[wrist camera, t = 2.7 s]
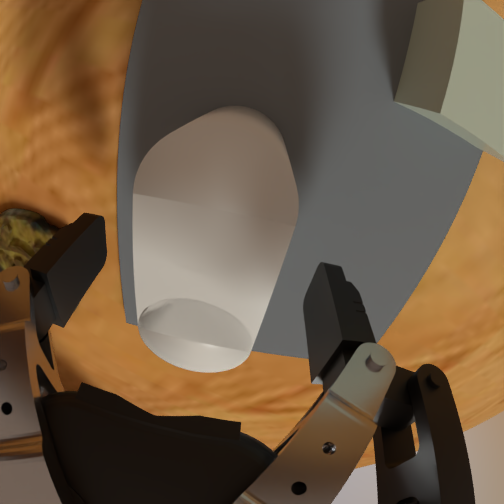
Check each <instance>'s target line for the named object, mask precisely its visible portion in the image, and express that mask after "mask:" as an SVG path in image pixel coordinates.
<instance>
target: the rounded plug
mask: <svg viewBox="0 0 504 504" xmlns="http://www.w3.org/2000/svg"><path fill="white" fill-rule="evenodd" d="M298 210H299V198H298V191H297V186H296V182H295V179H294V175H293V171H292V167H291V164H290V160H289V157H288V153H287V150H286V146H285V143H284V140H283V137H282V135H281V133H280V131H279V129H278V128H277V126H276V125H275V124H274V123H273V122H272V121H271V120H270V119H269V118H268V117H267V116H265V115H264V114H262V113H261V112H259V111H257V110H254V109H252V108H248V107H244V106H225V107H221V108H217V109H215V110H213V111H210V112H209V113H207V114H205V115H203V116H201V117H199V118H197V119H195V120H193V121H191V122H189V123H187V124H186V125H184V126H182V127H180V128H178V129H177V130H175V131H173V132H171V133H170V134H168V135H167V136H165V137H164V138H162V139H161V140H159V141H158V142H157V143H156V144H155V145H154V146H153V147H152V148H151V149H150V150H149V152H148V153H147V154H146V155H145V157H144V159H143V160H142V162H141V164H140V166H139V168H138V171H137V173H136V177H135V181H134V188H133V216H132V229H133V267H134V285H135V298H136V310H137V320H138V329H139V333H140V336H141V338H142V340H143V341H144V343H145V344H146V345H147V347H148V348H149V349H150V350H151V351H152V352H153V353H155V354H156V355H157V356H159V357H160V358H161V359H163V360H165V361H166V362H168V363H170V364H173V365H175V366H177V367H180V368H183V369H187V370H191V371H197V372H221V371H226V370H229V369H232V368H234V367H237V366H238V365H240V364H242V363H243V362H244V361H245V360H246V359H247V358H248V356H249V354H250V352H251V350H252V347H253V345H254V342H255V339H256V337H257V334H258V331H259V329H260V326H261V323H262V320H263V318H264V315H265V312H266V309H267V307H268V304H269V301H270V298H271V296H272V293H273V290H274V287H275V284H276V281H277V279H278V276H279V273H280V270H281V267H282V264H283V261H284V258H285V256H286V253H287V250H288V247H289V244H290V241H291V238H292V235H293V232H294V229H295V226H296V222H297V218H298Z"/></svg>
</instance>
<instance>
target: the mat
mask: <svg viewBox="0 0 504 504" xmlns="http://www.w3.org/2000/svg"><path fill="white" fill-rule="evenodd" d="M422 1H425V0H143V1H142V4H141V8H140V12H139V16H138V20H137V24H136V28H135V32H134V37H133V42H132V46H131V52H130V57H129V62H128V68H127V74H126V81H125V88H124V95H123V103H122V112H121V123H120V134H119V149H118V173H117V221H118V244H119V260H120V272H121V283H122V292H123V301H124V309H125V316H126V323H129V324H133V325H137V326H138V320H137V310H136V298H135V285H134V267H133V229H132V216H133V188H134V181H135V177H136V173H137V171H138V168H139V166H140V164H141V162H142V160H143V159H144V157H145V155H146V154H147V153H148V152H149V150H150V149H151V148H152V147H153V146H154V145H155V144H156V143H157V142H158V141H159V140H161V139H162V138H164V137H165V136H167V135H168V134H170V133H171V132H173V131H175V130H177V129H178V128H180V127H182V126H184V125H186V124H187V123H189V122H191V121H193V120H195V119H197V118H199V117H201V116H203V115H205V114H207V113H209V112H210V111H213V110H215V109H217V108H221V107H225V106H244V107H248V108H252V109H254V110H257V111H259V112H261V113H262V114H264V115H265V116H267V117H268V118H269V119H270V120H271V121H272V122H273V123H274V124H275V125H276V126H277V128H278V129H279V131H280V133H281V135H282V137H283V140H284V143H285V146H286V150H287V153H288V157H289V160H290V164H291V167H292V171H293V175H294V179H295V182H296V186H297V191H298V198H299V210H298V218H297V222H296V226H295V229H294V232H293V235H292V238H291V241H290V244H289V247H288V250H287V253H286V256H285V258H284V261H283V264H282V267H281V270H280V273H279V276H278V279H277V281H276V284H275V287H274V290H273V293H272V296H271V298H270V301H269V304H268V307H267V309H266V312H265V315H264V318H263V320H262V323H261V326H260V329H259V331H258V334H257V337H256V339H255V342H254V345H253V347H252V350H251V351H257V352H263V353H269V354H276V355H283V356H291V357H299V358H307V359H309V356H308V347H307V338H306V330H305V322H304V313H303V302H304V297H305V294H306V292H307V290H308V287H309V285H310V283H311V280H312V278H313V276H314V274H315V271H316V269H317V267H318V265H319V263H320V262H324V263H329V264H334V265H339V266H341V267H342V269H343V272H344V275H345V278H346V281H349V282H352V284H353V285H354V286H355V287H356V289H357V290H358V291H359V293H360V295H361V298H362V301H363V305H364V307H365V310H366V314H367V316H368V319H369V322H370V325H371V328H372V331H373V334H374V337H375V340H376V343H377V342H378V341H379V340H380V338H381V337H382V336H383V334H384V333H385V332H386V330H387V329H388V328H389V326H390V325H391V324H392V322H393V321H394V319H395V318H396V317H397V315H398V314H399V312H400V311H401V309H402V308H403V306H404V305H405V303H406V302H407V300H408V299H409V297H410V296H411V294H412V293H413V291H414V290H415V288H416V287H417V285H418V283H419V282H420V280H421V279H422V277H423V275H424V274H425V272H426V270H427V269H428V267H429V265H430V264H431V262H432V260H433V258H434V257H435V255H436V253H437V251H438V249H439V248H440V246H441V244H442V242H443V240H444V238H445V236H446V234H447V233H448V231H449V229H450V227H451V225H452V223H453V221H454V219H455V217H456V214H457V212H458V210H459V208H460V206H461V204H462V202H463V199H464V197H465V195H466V193H467V190H468V188H469V186H470V183H471V181H472V178H473V176H474V173H475V171H476V168H477V165H478V163H479V160H480V157H481V155H482V152H483V150H481V149H479V148H477V147H475V146H474V145H472V144H471V143H469V142H467V141H466V140H464V139H463V138H461V137H459V136H458V135H456V134H455V133H453V132H451V131H450V130H448V129H446V128H444V127H443V126H441V125H439V124H437V123H436V122H434V121H432V120H430V119H428V118H426V117H424V116H422V115H421V114H419V113H417V112H415V111H413V110H411V109H409V108H406V107H404V106H402V105H400V104H398V103H396V102H394V99H395V96H396V92H397V89H398V85H399V82H400V78H401V74H402V71H403V67H404V63H405V59H406V55H407V51H408V47H409V43H410V38H411V34H412V29H413V24H414V20H415V15H416V9H417V4H418V3H420V2H422Z"/></svg>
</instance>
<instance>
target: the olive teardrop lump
mask: <svg viewBox="0 0 504 504" xmlns="http://www.w3.org/2000/svg"><path fill="white" fill-rule="evenodd" d="M58 230H59V229H58V228H56V227H55V226H51V225H49V224H48V223H47V222H46V220H45V218H44V217H43V216H41V215H40V214H38V213H35V212H32V211H29V210H25V209H8V210H6V211H4V212H3V213H1V214H0V272H2V271H3V270H5V269H7V268H9V267H12V266H21V267H24V266H25V264H26V263H27V262H28V261H29V260H30V259H31V258H32V257H33V256H34V255H35V254H36V253H37V252H38V250H39V249H40V248H41V247H42V246H43V245H46V242H47V241H48V240H49V239H50V238H51V239H52V236H53V235H54V234H55V233H56V232H57V231H58ZM77 306H78V305H77ZM76 308H77V307H76ZM76 308H75V309H76ZM74 311H75V310H74Z"/></svg>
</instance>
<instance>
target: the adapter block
mask: <svg viewBox="0 0 504 504" xmlns="http://www.w3.org/2000/svg"><path fill="white" fill-rule="evenodd" d="M394 102H396V103H398V104H400V105H402V106H404V107H406V108H409V109H411V110H413V111H415V112H417V113H419V114H421V115H422V116H424V117H426V118H428V119H430V120H432V121H434V122H436V123H437V124H439V125H441V126H443V127H444V128H446V129H448V130H450V131H451V132H453V133H455V134H456V135H458V136H459V137H461V138H463V139H464V140H466V141H467V142H469V143H471V144H472V145H474V146H475V147H477V148H479V149H481V150H483V151H485V152H486V153H488V154H490V155H492V156H494V157H496V158H498V159H500V160H501V161H503V162H504V19H503V18H501V17H500V16H499V15H498V14H497V13H496V12H495V11H494V10H492V9H491V8H490V7H489V6H488V5H487V4H485V3H484V2H483V1H482V0H425V1H422V2H420V3H418V4H417V9H416V15H415V20H414V24H413V29H412V34H411V38H410V43H409V47H408V51H407V55H406V59H405V63H404V67H403V71H402V74H401V78H400V82H399V85H398V89H397V92H396V96H395V99H394Z"/></svg>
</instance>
